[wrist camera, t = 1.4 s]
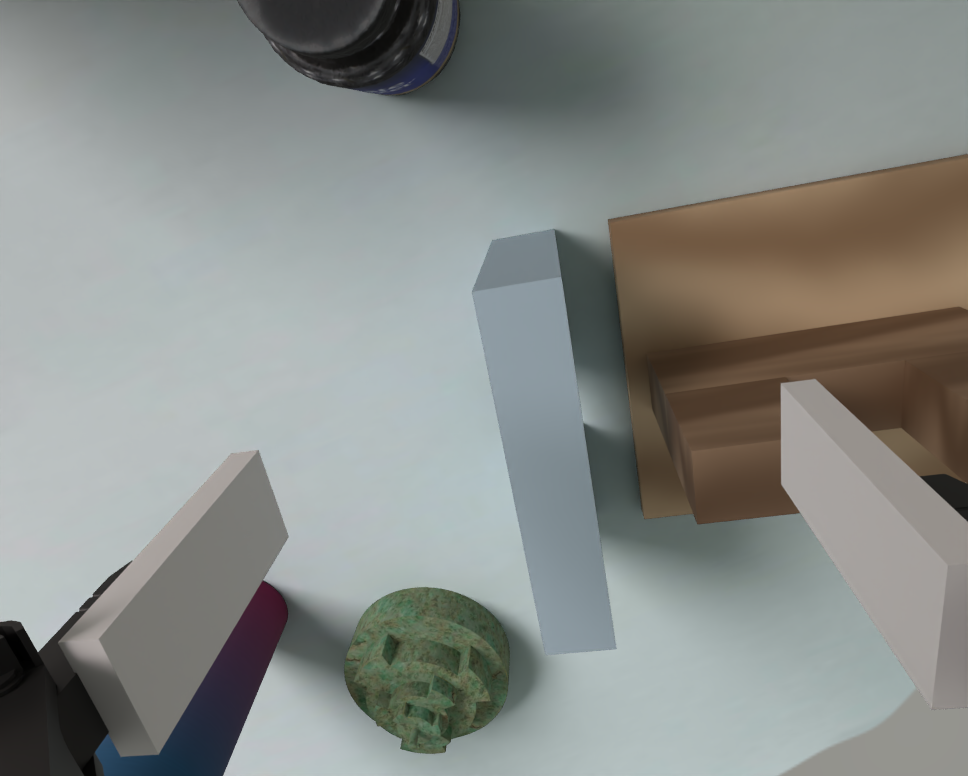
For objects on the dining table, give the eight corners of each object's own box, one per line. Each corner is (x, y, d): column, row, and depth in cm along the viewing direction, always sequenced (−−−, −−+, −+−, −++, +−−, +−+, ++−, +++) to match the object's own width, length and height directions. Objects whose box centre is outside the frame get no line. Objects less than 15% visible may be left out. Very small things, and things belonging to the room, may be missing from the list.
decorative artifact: (423, 557, 38) (324, 645, 42) (400, 646, 32) (285, 741, 35) (542, 651, 40) (439, 727, 44) (543, 752, 34) (422, 832, 37)
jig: (607, 219, 30) (643, 270, 20) (983, 151, 27) (1243, 168, 17) (641, 508, 36) (682, 663, 25) (953, 472, 33) (1134, 626, 23)
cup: (277, 555, 39) (133, 794, 25) (318, 639, 41) (206, 900, 27) (179, 574, 40) (-10, 812, 26) (224, 655, 42) (72, 912, 29)
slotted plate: (492, 240, 31) (471, 291, 21) (554, 229, 30) (561, 276, 21) (543, 520, 36) (545, 655, 27) (596, 513, 36) (616, 649, 27)
